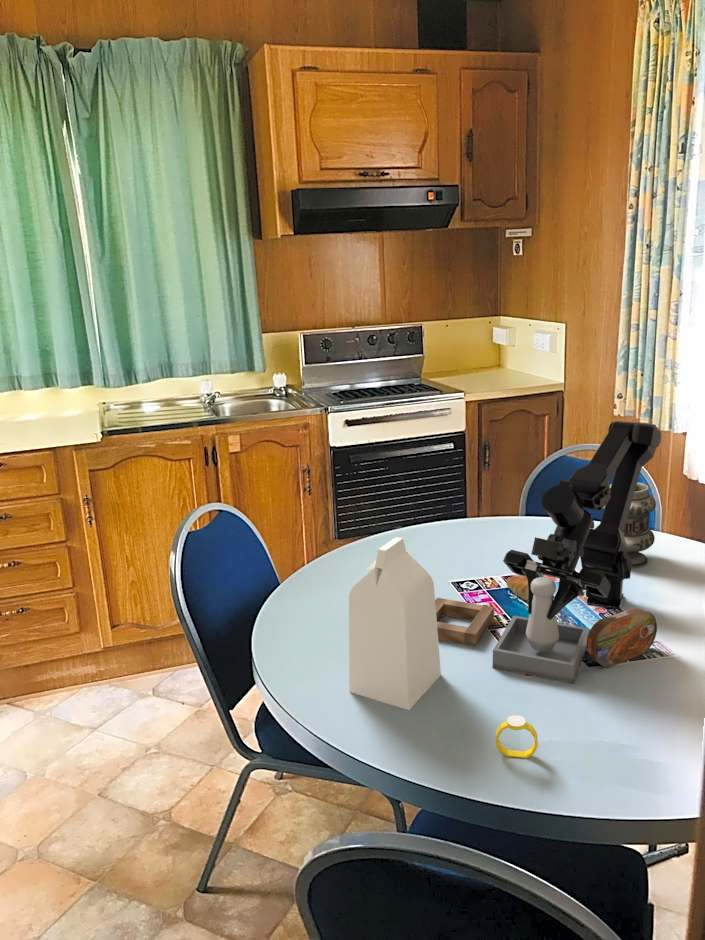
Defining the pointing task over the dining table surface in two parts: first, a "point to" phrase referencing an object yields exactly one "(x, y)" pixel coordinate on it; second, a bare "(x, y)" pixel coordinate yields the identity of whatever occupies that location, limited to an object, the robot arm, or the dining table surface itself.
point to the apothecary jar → (639, 525)
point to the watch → (516, 724)
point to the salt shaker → (542, 616)
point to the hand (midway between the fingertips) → (539, 615)
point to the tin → (621, 637)
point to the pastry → (519, 586)
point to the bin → (551, 664)
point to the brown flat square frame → (470, 611)
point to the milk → (393, 630)
